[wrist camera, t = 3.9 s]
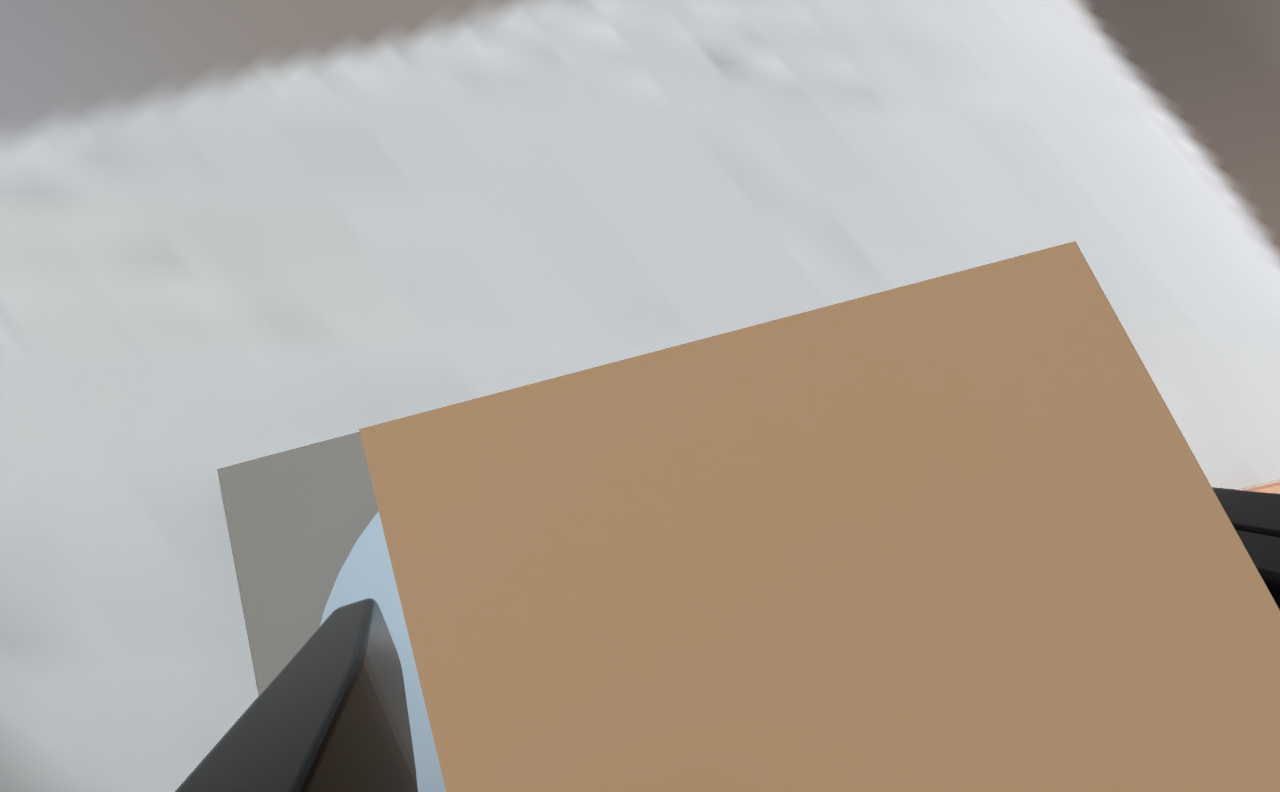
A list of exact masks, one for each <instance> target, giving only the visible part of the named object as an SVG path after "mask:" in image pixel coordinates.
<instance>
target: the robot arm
mask: <svg viewBox="0 0 1280 792" xmlns="http://www.w3.org/2000/svg"><path fill="white" fill-rule="evenodd" d="M1212 489H1213V491H1214V492H1215V494H1216V496H1217V498H1218V500H1219V501H1220V503H1221V505H1222V507H1223V509H1224V511H1225V512H1226V514H1227V516H1228V518H1229V520H1230V521H1231V523H1232V525H1233V527H1234V529H1235V530H1236V532H1237V534H1238V536H1239V538H1240V539H1241V541H1242V543H1243V545H1244V547H1245V548H1246V550H1247V552H1248V554H1249V556H1250V557H1251V559H1252V561H1253V563H1254V565H1255V566H1256V568H1257V570H1258V572H1259V574H1260V575H1261V577H1262V579H1263V581H1264V583H1265V584H1266V586H1267V588H1268V590H1269V592H1270V593H1271V595H1272V597H1273V599H1274V601H1275V603H1276V604H1277V606H1278V608H1279V610H1280V494H1278V493H1265V492H1255V491H1244V490H1234V489H1224V488H1213V487H1212ZM175 792H418V787H417V777H416V767H415V760H414V752H413V745H412V738H411V730H410V723H409V716H408V708H407V701H406V693H405V686H404V679H403V672H402V667H401V663H400V659H399V656H398V653H397V650H396V647H395V645H394V642H393V640H392V637H391V635H390V632H389V630H388V627H387V625H386V622H385V620H384V617H383V615H382V612H381V610H380V607H379V605H378V603H377V602H376V601H375V600H374V599H371V598H367V599H364V600H361V601H358V602H354V603H351V604H348V605H345V606H342V607H339V608H337V609H336V610H334V611H333V612H332V613H331V614H330V616H329V617H328V618H327V619H326V620H325V621H324V622H323V624H322V625H321V626H320V627H319V628H318V629H317V630H316V632H315V633H314V634H313V635H312V636H311V637H310V638H309V640H308V641H307V642H306V643H305V644H304V645H303V646H302V648H301V649H300V650H299V651H298V652H297V653H296V654H295V656H294V657H293V658H292V659H291V660H290V661H289V662H288V664H287V665H286V666H285V667H284V668H283V669H282V670H281V671H280V673H279V674H278V675H277V676H276V677H275V678H274V679H273V681H272V682H271V683H270V684H269V685H268V686H267V687H266V689H265V690H264V691H263V692H262V693H261V694H260V695H259V697H258V698H257V699H256V700H255V701H254V702H253V703H252V705H251V706H250V707H249V708H248V709H247V710H246V711H245V713H244V714H243V715H242V716H241V717H240V718H239V719H238V721H237V722H236V723H235V724H234V725H233V726H232V727H231V728H230V730H229V731H228V732H227V733H226V734H225V735H224V736H223V738H222V739H221V740H220V741H219V742H218V743H217V744H216V746H215V747H214V748H213V749H212V750H211V751H210V752H209V754H208V755H207V756H206V757H205V758H204V759H203V760H202V762H201V763H200V764H199V765H198V766H197V767H196V768H195V770H194V771H193V772H192V773H191V774H190V775H189V776H188V778H187V779H186V780H185V781H184V782H183V783H182V784H181V786H180V787H179V788H178V789H177V790H176V791H175Z"/></svg>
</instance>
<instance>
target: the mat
mask: <svg viewBox="0 0 1280 792" xmlns="http://www.w3.org/2000/svg"><path fill="white" fill-rule="evenodd" d="M217 471H218V476H219V482H220V487H221V493H222V498H223V504H224V509H225V514H226V520H227V525H228V531H229V536H230V542H231V547H232V553H233V558H234V563H235V569H236V574H237V580H238V585H239V591H240V596H241V602H242V607H243V612H244V618H245V623H246V629H247V634H248V640H249V645H250V651H251V656H252V661H253V667H254V672H255V678H256V683H257V689H258V694H259V695H260V694H261V693H262V692H263V691H264V690H265V689H266V687H267V686H268V685H269V684H270V683H271V682H272V681H273V679H274V678H275V677H276V676H277V675H278V674H279V673H280V671H281V670H282V669H283V668H284V667H285V666H286V665H287V664H288V662H289V661H290V660H291V659H292V658H293V657H294V656H295V654H296V653H297V652H298V651H299V650H300V649H301V648H302V646H303V645H304V644H305V643H306V642H307V641H308V640H309V638H310V637H311V636H312V635H313V634H314V633H315V632H316V630H317V629H318V628H319V627H320V624H321V620H322V616H323V613H324V609H325V606H326V604H327V601H328V599H329V596H330V594H331V591H332V589H333V586H334V584H335V581H336V579H337V576H338V574H339V572H340V570H341V568H342V567H343V565H344V563H345V561H346V559H347V558H348V556H349V554H350V552H351V550H352V548H353V547H354V545H355V543H356V541H357V540H358V538H359V537H360V536H361V534H362V533H363V531H364V530H365V529H366V527H367V526H368V525H369V523H370V522H371V520H372V519H373V518H374V516H375V515H376V514H377V512H378V511H379V510H378V506H377V502H376V498H375V494H374V489H373V485H372V481H371V477H370V473H369V469H368V465H367V460H366V456H365V452H364V448H363V444H362V440H361V435H360V432H357V433H353V434H349V435H346V436H342V437H338V438H334V439H330V440H327V441H323V442H319V443H315V444H311V445H308V446H304V447H300V448H296V449H292V450H289V451H285V452H281V453H277V454H273V455H270V456H266V457H262V458H258V459H255V460H251V461H247V462H243V463H239V464H236V465H232V466H228V467H224V468H220V469H217Z"/></svg>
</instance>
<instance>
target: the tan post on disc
mask: <svg viewBox="0 0 1280 792" xmlns="http://www.w3.org/2000/svg"><path fill="white" fill-rule="evenodd" d="M359 431H360V435H361V440H362V444H363V448H364V452H365V456H366V460H367V465H368V469H369V473H370V477H371V481H372V485H373V489H374V494H375V498H376V502H377V506H378V510H379V511H378V512H377V514H376V515H375V516H374V518H373V519H372V520H371V522H370V523H369V525H368V526H367V527H366V529H365V530H364V531H363V533H362V534H361V536H360V537H359V538H358V540H357V541H356V543H355V545H354V547H353V548H352V550H351V552H350V554H349V556H348V558H347V559H346V561H345V563H344V565H343V567H342V568H341V570H340V572H339V574H338V576H337V579H336V581H335V584H334V586H333V589H332V591H331V594H330V596H329V599H328V601H327V604H326V606H325V609H324V613H323V616H322V620H321V624H320V626H321V625H322V624H323V622H324V621H325V620H326V619H327V618H328V617H329V616H330V614H331V613H332V612H333V611H334V610H336V609H337V608H339V607H342V606H345V605H348V604H351V603H354V602H358V601H361V600H364V599H367V598H371V599H374V600H375V601H376V602H377V603H378V605H379V607H380V610H381V612H382V615H383V617H384V620H385V622H386V625H387V627H388V630H389V632H390V635H391V637H392V640H393V642H394V645H395V647H396V650H397V653H398V656H399V659H400V663H401V667H402V672H403V679H404V686H405V693H406V701H407V708H408V716H409V723H410V730H411V738H412V745H413V752H414V760H415V767H416V777H417V787H418V792H1280V610H1279V608H1278V606H1277V604H1276V603H1275V601H1274V599H1273V597H1272V595H1271V593H1270V592H1269V590H1268V588H1267V586H1266V584H1265V583H1264V581H1263V579H1262V577H1261V575H1260V574H1259V572H1258V570H1257V568H1256V566H1255V565H1254V563H1253V561H1252V559H1251V557H1250V556H1249V554H1248V552H1247V550H1246V548H1245V547H1244V545H1243V543H1242V541H1241V539H1240V538H1239V536H1238V534H1237V532H1236V530H1235V529H1234V527H1233V525H1232V523H1231V521H1230V520H1229V518H1228V516H1227V514H1226V512H1225V511H1224V509H1223V507H1222V505H1221V503H1220V501H1219V500H1218V498H1217V496H1216V494H1215V492H1214V491H1213V489H1212V487H1211V485H1210V483H1209V482H1208V480H1207V478H1206V476H1205V474H1204V473H1203V471H1202V469H1201V467H1200V465H1199V464H1198V462H1197V460H1196V458H1195V456H1194V455H1193V453H1192V451H1191V449H1190V447H1189V446H1188V444H1187V442H1186V440H1185V438H1184V437H1183V435H1182V433H1181V431H1180V429H1179V428H1178V426H1177V424H1176V422H1175V420H1174V418H1173V417H1172V415H1171V413H1170V411H1169V409H1168V408H1167V406H1166V404H1165V402H1164V400H1163V399H1162V397H1161V395H1160V393H1159V391H1158V390H1157V388H1156V386H1155V384H1154V382H1153V381H1152V379H1151V377H1150V375H1149V373H1148V372H1147V370H1146V368H1145V366H1144V364H1143V363H1142V361H1141V359H1140V357H1139V355H1138V354H1137V352H1136V350H1135V348H1134V346H1133V345H1132V343H1131V341H1130V339H1129V337H1128V336H1127V334H1126V332H1125V330H1124V328H1123V326H1122V325H1121V323H1120V321H1119V319H1118V317H1117V316H1116V314H1115V312H1114V310H1113V308H1112V307H1111V305H1110V303H1109V301H1108V299H1107V298H1106V296H1105V294H1104V292H1103V290H1102V289H1101V287H1100V285H1099V283H1098V281H1097V280H1096V278H1095V276H1094V274H1093V272H1092V271H1091V269H1090V267H1089V265H1088V263H1087V262H1086V260H1085V258H1084V256H1083V254H1082V253H1081V251H1080V249H1079V247H1078V245H1077V243H1076V242H1071V243H1067V244H1063V245H1059V246H1056V247H1052V248H1048V249H1044V250H1040V251H1037V252H1033V253H1029V254H1025V255H1021V256H1018V257H1014V258H1010V259H1006V260H1002V261H998V262H995V263H991V264H987V265H983V266H979V267H976V268H972V269H968V270H964V271H960V272H957V273H953V274H949V275H945V276H941V277H938V278H934V279H930V280H926V281H922V282H919V283H915V284H911V285H907V286H903V287H899V288H896V289H892V290H888V291H884V292H880V293H877V294H873V295H869V296H865V297H861V298H858V299H854V300H850V301H846V302H842V303H839V304H835V305H831V306H827V307H823V308H820V309H816V310H812V311H808V312H804V313H801V314H797V315H793V316H789V317H785V318H781V319H778V320H774V321H770V322H766V323H762V324H759V325H755V326H751V327H747V328H743V329H740V330H736V331H732V332H728V333H724V334H721V335H717V336H713V337H709V338H705V339H702V340H698V341H694V342H690V343H686V344H682V345H679V346H675V347H671V348H667V349H663V350H660V351H656V352H652V353H648V354H644V355H641V356H637V357H633V358H629V359H625V360H622V361H618V362H614V363H610V364H606V365H603V366H599V367H595V368H591V369H587V370H584V371H580V372H576V373H572V374H568V375H564V376H561V377H557V378H553V379H549V380H545V381H542V382H538V383H534V384H530V385H526V386H523V387H519V388H515V389H511V390H507V391H504V392H500V393H496V394H492V395H488V396H485V397H481V398H477V399H473V400H469V401H466V402H462V403H458V404H454V405H450V406H446V407H443V408H439V409H435V410H431V411H427V412H424V413H420V414H416V415H412V416H408V417H405V418H401V419H397V420H393V421H389V422H386V423H382V424H378V425H374V426H370V427H367V428H363V429H359Z"/></svg>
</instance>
